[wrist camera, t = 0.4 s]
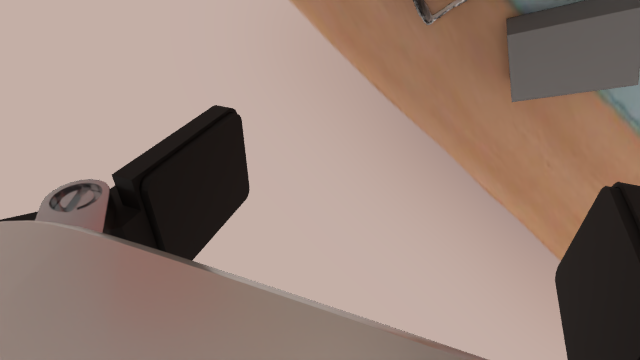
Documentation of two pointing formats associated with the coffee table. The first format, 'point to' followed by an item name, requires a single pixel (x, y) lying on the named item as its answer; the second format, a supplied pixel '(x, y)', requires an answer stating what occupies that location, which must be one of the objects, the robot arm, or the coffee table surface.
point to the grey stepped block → (574, 49)
